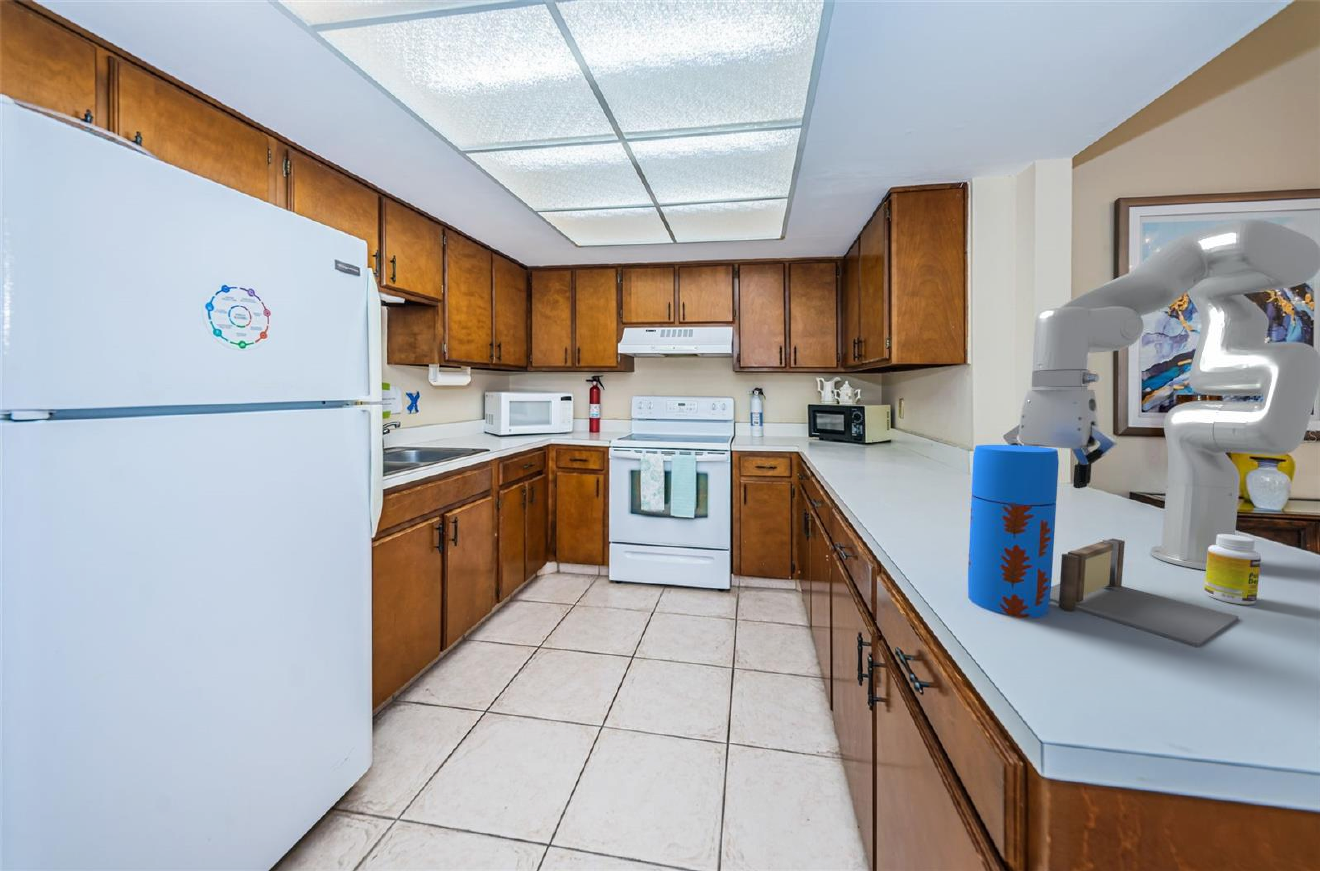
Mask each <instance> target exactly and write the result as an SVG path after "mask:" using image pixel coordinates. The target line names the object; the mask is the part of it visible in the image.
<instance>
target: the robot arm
mask: <svg viewBox="0 0 1320 871" xmlns="http://www.w3.org/2000/svg"><path fill="white" fill-rule="evenodd" d="M1319 271H1320V245H1319V244H1318V243H1317V242H1316V240H1314V239H1313V238H1311V237H1310V236H1307V235H1306V234H1304V233H1302V232H1298V231H1295V230H1293V229H1290V228H1288V227H1286V226H1283V225H1281V224H1278V223H1276V222H1270V221H1267V220H1262V219H1247V220H1241V221H1237V222H1233V223H1229V224H1224V225H1220V226H1216V227H1212V228H1209V229H1208V228H1207V229H1204V230H1201V231H1195V232H1191V233H1188V234H1185V235H1182V236H1180V237H1177V238H1175V239H1174V240H1172V241H1170V242H1168V243H1167V244H1166V245H1164V246H1163V247H1161V249H1159V250H1157V252H1155V253H1154V254H1153V255H1151V256H1150V257H1149V258H1147V259H1146V260H1145V261H1144V262H1142V263H1141V264H1139V265H1138V266H1137V267H1135V269H1133V270H1132V271H1130V272H1128V273H1125V274H1123V275H1122V276H1119V277H1117V278H1115V279H1114V278H1113V280H1110V281H1108V282H1105V283H1104V284H1101V285H1099V286H1098V287H1095V288H1093V289H1091V290H1088V291H1085V292H1084V293H1082V294H1080V295H1078V296H1076V297H1074V298H1072V299H1071V300H1069V301H1067V302H1066V303H1064V304H1063V305H1062V306H1059V307H1055V308H1049V309H1046V310H1043V311H1041V312H1039V313H1038V314H1037V315H1036V316H1035V317H1036V318H1035V319H1034V320H1035V322H1034V331H1033V332H1034V333H1033V351H1032V352H1033V353H1032V373H1031V389H1029V390H1028V389H1027V390H1026V394H1025V396H1024V400H1023V404H1022V407H1021V414H1020V419H1019V425H1016V426H1015V427H1013V428H1012V429H1011V430H1009V431H1008V432H1006V433H1005V434H1003V437H1002V438H1003V439H1004V440H1005V442H1006V443H1007V445H1021V446H1035V447H1045V448H1054V449H1056V448H1057V449H1058V448H1059V449H1071V450H1072V453H1074V456H1075V457H1076V459H1077V463H1076V464H1075V465H1074V466H1073V467H1074V470H1073V486H1072V487H1073V488H1075V489H1082V488H1083V489H1084V488H1086V487H1087V486H1088V484H1090V483H1091V475H1092V465H1093V464H1095V463H1096V462H1097V461H1098V460H1100V459H1101V458H1102V457H1104V456H1105V455H1106V454H1107V453H1109V452H1110V451H1111V450H1113V449H1114V448H1116V446H1117V445H1118V442H1117V440H1115V439H1113V438H1112V437H1111V436H1109V434H1107V433H1106V432H1104V431H1103V430H1102V429H1100V428H1099V417H1098V416H1099V415H1098V413H1099V412H1098V405H1097V398H1096V394H1095V389H1089V388H1088V387H1089V386H1090V384H1092V383H1097V382H1099V380H1100V376H1099V373H1092V372H1091V370H1089V369H1090V354H1094V353H1096V354H1097V353H1107V352H1108V353H1109V352H1116V351H1120V350H1124V349H1127V348H1129V347H1131V346H1132V345H1134V344H1135V343H1136V342H1137V341H1138V340H1139V339H1140V338H1141V336H1142V334H1143V331H1144V327H1145V326H1144V320H1143V318H1142V316H1145V315H1149V314H1152V313H1155V312H1157V311H1161V310H1163V309H1166V308H1167V307H1169V306H1171V305H1172V304H1174V303H1175V302H1176V301H1178V300H1179V299H1180V298H1181V297H1182V296H1184V295H1185V294H1187V296H1188V298H1189V300H1191V302H1192V303H1193V306H1194V307H1195V309H1196V311H1197V313H1198V315H1199V318H1200V322H1201V323H1200V332H1199V337H1198V339H1197V340H1198V341H1197V343H1196V348H1195V350H1194V355H1193V359H1192V362H1191V366H1190V369H1189V373H1188V374H1189V375H1188V385H1189V387H1190V388H1191V389H1192V390H1193V391H1194V392H1196V393H1199V394H1202V395H1207V396H1223V397H1224V396H1227V397H1229V396H1230V397H1233V396H1234V397H1235V396H1236V397H1237V396H1238V397H1240V396H1241V397H1242V396H1243V397H1245V396H1248V397H1249V396H1251V397H1255V396H1256V397H1260V396H1261V397H1263V398H1262V400H1261V401H1258V400H1257V401H1245V400H1244V401H1243V400H1239V401H1236V400H1195V401H1188V402H1187V401H1186V402H1183V403H1180V404H1177V405H1175V406H1174V407H1171V409H1170V410H1168V412H1167V413H1166V414H1165V417H1164V421H1163V432H1164V436H1165V441H1166V448H1167V473H1166V488H1165V499H1164V500H1165V502H1164V511H1163V514H1164V515H1163V524H1162V525H1163V526H1162V537H1161V545H1158V546H1152V547H1151V548H1150V555H1151V556H1152V557H1154V558H1156V559H1158V560H1160V561H1164V562H1166V563H1168V564H1169V563H1170V564H1173V565H1177V566H1181V567H1186V568H1192V569H1198V570H1205V571H1206V567H1207V556H1208V548H1209V546H1211V545H1217V544H1216V538H1217V535H1218V534H1230V535H1236V527H1237V518H1238V516H1237V515H1238V505H1239V504H1238V503H1239V496H1240V495H1239V493H1240V484H1241V483H1240V482H1241V477H1240V472H1239V469H1238V468H1237V465H1235V463H1234V462H1233V460H1231V458H1230V457H1229V455H1227V453H1234V454H1235V453H1236V454H1246V455H1248V454H1249V455H1257V456H1258V455H1260V456H1283V455H1287V454H1288V455H1289V454H1290V453H1292V452H1294V451H1295V450H1297V449H1298V448H1299V446H1301V444H1302V442H1303V441H1304V438H1305V435H1306V433H1307V430H1308V426H1309V422H1310V419H1311V415H1312V412H1313V408H1314V406H1315V401H1316V398H1317V394H1318V390H1319V387H1320V353H1319V351H1318V350H1317V349H1316V348H1315V347H1314V346H1312V345H1310V344H1308V343H1304V342H1299V341H1280V342H1279V341H1278V342H1277V341H1276V342H1266V338H1267V334H1268V329H1269V324H1270V322H1269V321H1270V320H1269V317H1268V316H1267V314H1266V313H1265V311H1264V310H1263V309H1262V308H1261V307H1260V306H1259V305H1257V304H1256V303H1254V302H1253V301H1252V300H1251V299H1249V298H1248V297H1247V296H1245V295H1247V294H1254V293H1261V292H1267V291H1273V290H1274V291H1275V290H1284V289H1289V288H1293V287H1297V286H1300V285H1303V284H1306V283H1307V282H1309V281H1310V280H1312V279H1313V278H1314V277H1316V275H1317V274H1318V273H1319ZM1017 438H1018V439H1019V440H1018V439H1017ZM1098 442H1099V443H1100V444H1099V446H1098V447H1097V448H1095V449H1094V450H1092V451H1091V449H1090V448H1092V447H1095V446H1097V444H1098Z"/></svg>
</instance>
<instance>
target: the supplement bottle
mask: <svg viewBox="0 0 1320 871" xmlns="http://www.w3.org/2000/svg"><path fill="white" fill-rule="evenodd" d="M1216 544H1217V545H1211V546H1209V548H1208V556H1207V567H1206V570H1205V577H1204V578H1205V580H1204V592H1205V594H1206V595H1207V596H1209V597H1211V598H1213V599H1216V600H1217V601H1222V602H1226V603H1230V604H1236V605H1245V606H1246V605H1253V604H1256V602H1257V597H1258V588H1259V580H1260V571H1261V569H1260V567H1261V561H1262V560H1261V559H1262V558H1261V557H1262V556H1261V554H1260V553H1259V552H1258V551H1255V550H1254V549H1255V539H1254V538H1251V537H1247V536H1245V535H1244V536H1243V535H1236V534H1235V535H1230V534H1218V535H1217V538H1216Z"/></svg>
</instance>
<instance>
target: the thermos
mask: <svg viewBox="0 0 1320 871" xmlns="http://www.w3.org/2000/svg"><path fill="white" fill-rule="evenodd" d="M973 452H974V453H973V459H972V475H971V476H972V479H971V499H970V500H971V501H970V504H971V505H970V521H969V522H970V524H969V525H970V526H969V542H968V544H969V545H968V547H969V548H968V568H967V586H968V587H967V589H968V590H967V591H968V592H967V593H968V599H969V600H970V601H971V602H972V603H973V604H974V605H976V606H978V607H980V608H982V609H985V610H986V611H990V612H992V613H993V612H994V613H996V614H999V615H1004V616H1008V617H1015V618H1030V619H1031V618H1032V619H1035V618H1041V617H1042V618H1043V617H1044V616H1046V615H1047V614H1048V613H1049V607H1050V602H1051V601H1050V593H1051V587H1052V581H1053V580H1052V579H1053V565H1054V564H1053V562H1054V546H1055V530H1056V528H1055V527H1056V511H1057V496H1058V495H1057V494H1058V483H1059V482H1058V481H1059V480H1058V479H1059V464H1060V463H1059V462H1060V461H1059V453H1058V448H1057V449H1056V448H1053V447H1042V446H1039V447H1035V446H1021V445H1009V444H980V445H979V444H978V445H975V447H974V451H973Z"/></svg>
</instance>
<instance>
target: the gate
mask: <svg viewBox="0 0 1320 871" xmlns="http://www.w3.org/2000/svg"><path fill="white" fill-rule="evenodd" d="M1118 546H1119V543H1118V542H1116V541H1111V540H1110V539H1103V540H1102V541H1099V542H1096V543H1093V544H1090V545H1086V546H1083V547H1081V548H1077V549H1075V550H1070V551H1068V552H1067V554H1071V555H1075V556H1078V557H1079V560H1078V575H1077V591H1076V602H1081V601H1083V596H1084V595H1086V594H1089V593H1091V592H1094V591H1096V590H1098V589H1101V588H1103V587H1105V586H1106V587H1116V574H1117V560H1118Z"/></svg>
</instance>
